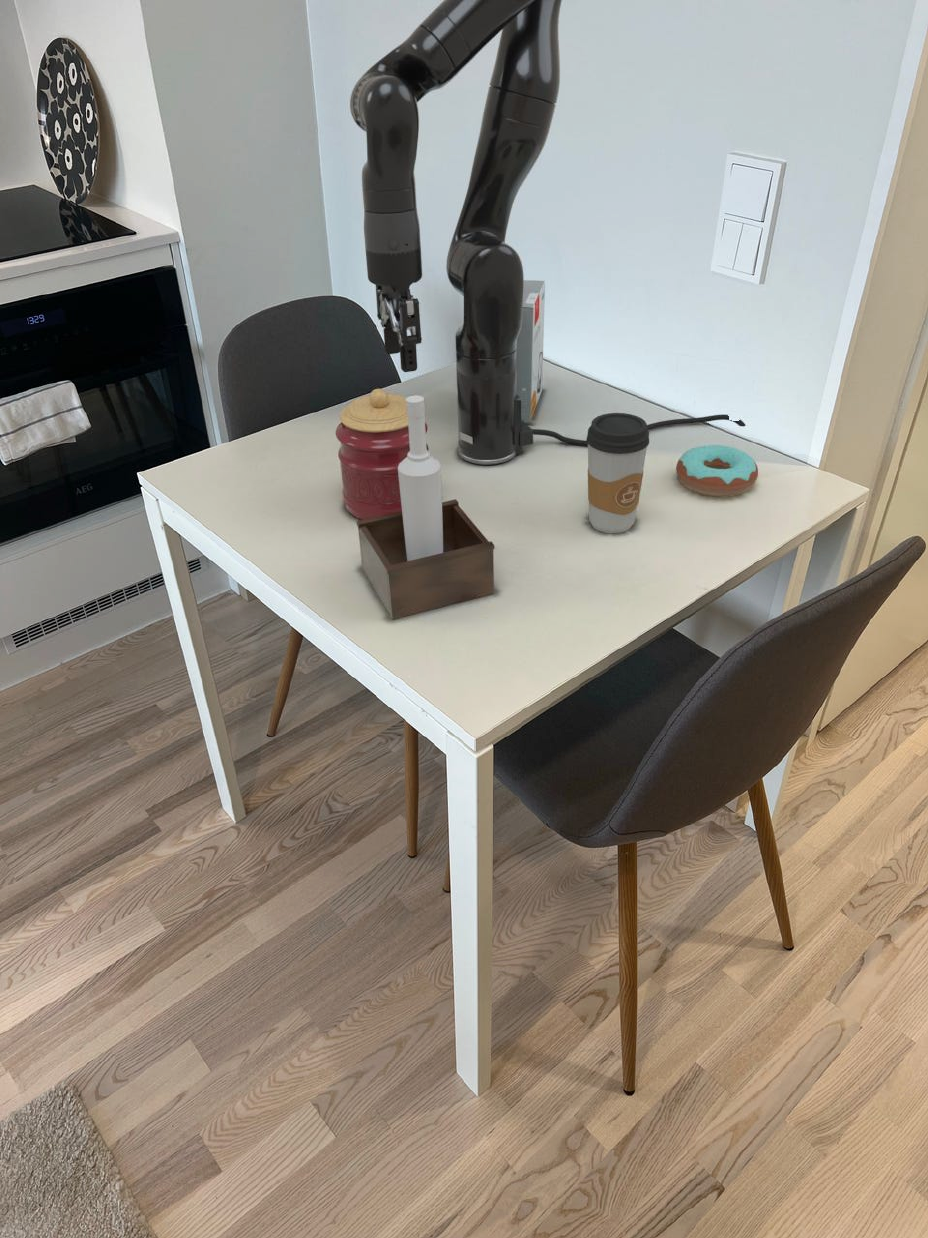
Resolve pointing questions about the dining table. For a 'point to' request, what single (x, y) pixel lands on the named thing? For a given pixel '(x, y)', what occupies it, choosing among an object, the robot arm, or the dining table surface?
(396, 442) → the kitchen canister
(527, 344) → the hard drive box
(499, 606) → the dining table surface
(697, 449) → the donut
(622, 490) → the coffee cup
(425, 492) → the bottle
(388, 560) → the crate
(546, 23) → the robot arm
